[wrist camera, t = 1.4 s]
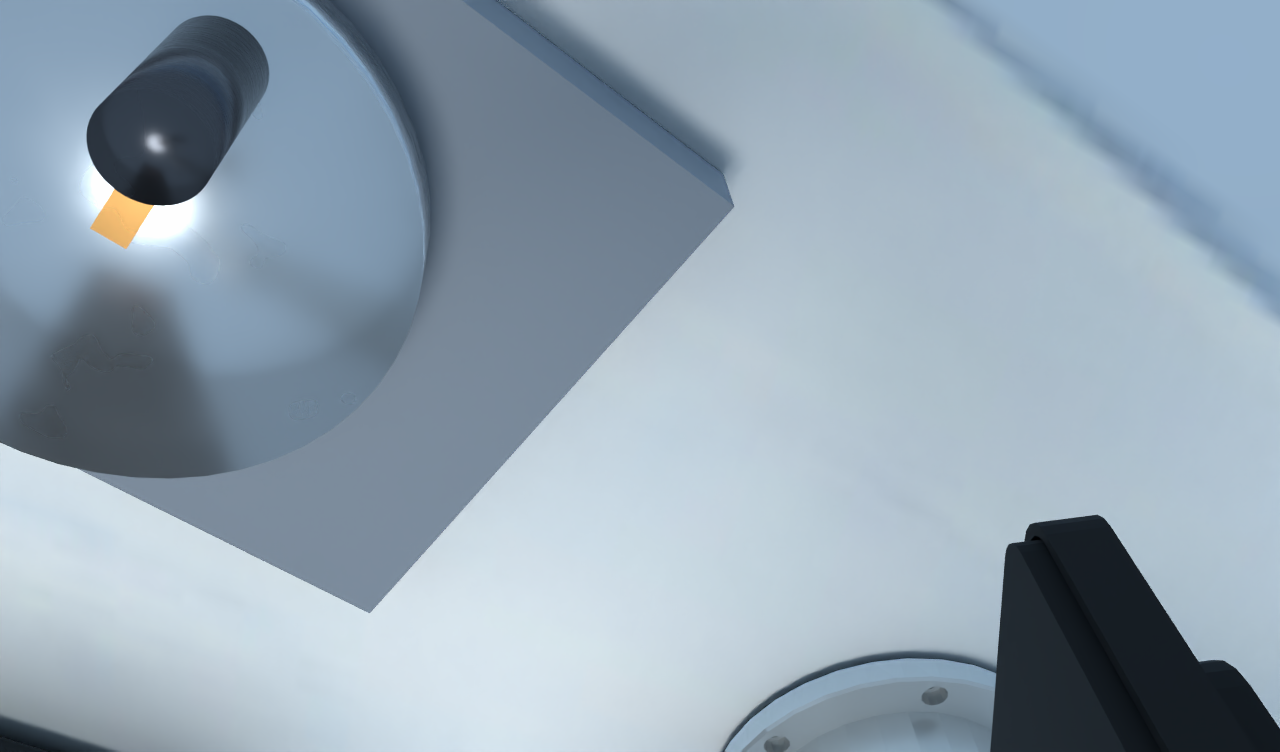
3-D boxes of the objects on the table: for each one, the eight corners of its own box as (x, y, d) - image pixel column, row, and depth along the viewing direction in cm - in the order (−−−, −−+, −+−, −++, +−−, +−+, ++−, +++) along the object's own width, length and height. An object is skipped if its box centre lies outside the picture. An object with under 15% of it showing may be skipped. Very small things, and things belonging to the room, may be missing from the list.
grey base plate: (723, 174, 29) (736, 211, 27) (378, 567, 35) (368, 620, 33) (-192, -527, 21) (-268, -546, 19) (-440, 146, 27) (-517, 185, 25)
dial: (253, 515, 31) (191, 694, 26) (-269, 249, 26) (-480, 403, 21) (543, 148, 26) (542, 276, 21) (-32, -266, 21) (-228, -239, 16)
